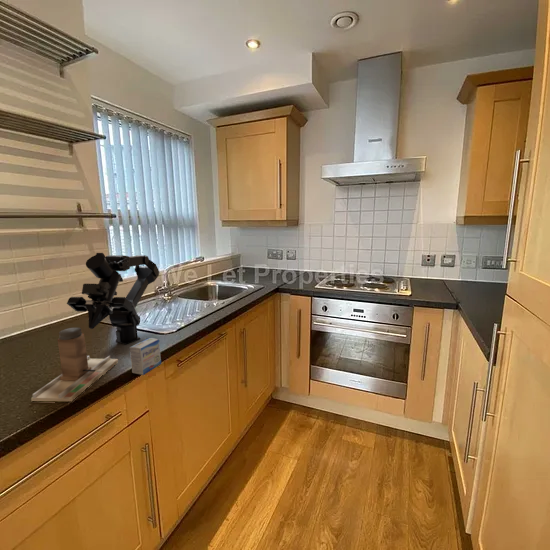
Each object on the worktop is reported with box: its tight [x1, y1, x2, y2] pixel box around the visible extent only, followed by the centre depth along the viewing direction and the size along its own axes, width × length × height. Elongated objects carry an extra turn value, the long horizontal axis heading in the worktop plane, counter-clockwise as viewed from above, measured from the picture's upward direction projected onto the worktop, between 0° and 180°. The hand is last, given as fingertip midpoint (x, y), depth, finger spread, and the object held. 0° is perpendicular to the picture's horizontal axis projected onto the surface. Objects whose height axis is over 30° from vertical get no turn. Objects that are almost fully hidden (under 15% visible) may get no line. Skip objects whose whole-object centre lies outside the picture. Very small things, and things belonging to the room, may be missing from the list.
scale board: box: [31, 355, 119, 402], centre depth 88 cm, size 22×10×2 cm, turn 178°
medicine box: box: [129, 337, 162, 376], centre depth 94 cm, size 8×4×9 cm, turn 158°
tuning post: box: [57, 327, 95, 381], centre depth 87 cm, size 6×8×14 cm
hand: (90, 328), depth 94 cm, fingers closed
